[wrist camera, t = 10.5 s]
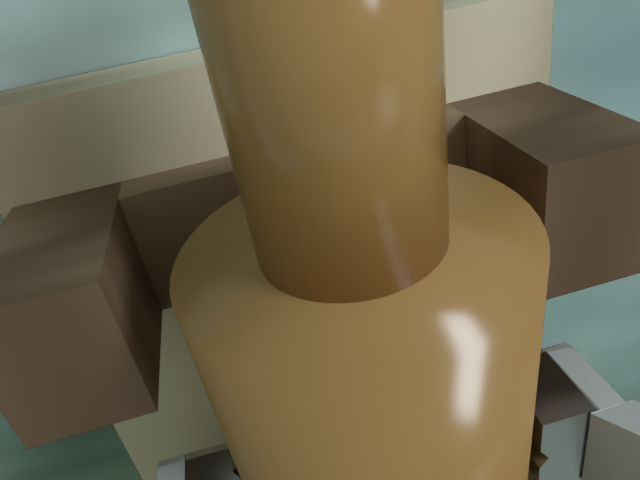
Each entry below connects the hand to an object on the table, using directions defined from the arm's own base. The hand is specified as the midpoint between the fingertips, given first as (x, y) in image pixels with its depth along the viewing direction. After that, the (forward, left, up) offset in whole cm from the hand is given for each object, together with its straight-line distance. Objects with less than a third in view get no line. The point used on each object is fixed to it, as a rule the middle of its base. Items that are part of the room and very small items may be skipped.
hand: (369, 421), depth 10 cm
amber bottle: (-2, -1, -1) cm, 2 cm away
